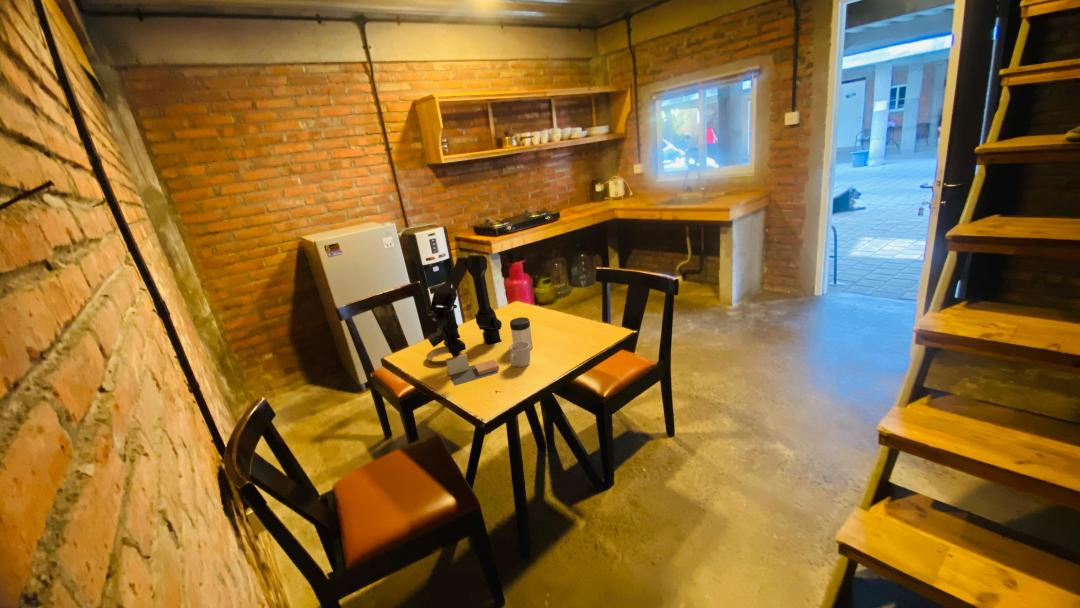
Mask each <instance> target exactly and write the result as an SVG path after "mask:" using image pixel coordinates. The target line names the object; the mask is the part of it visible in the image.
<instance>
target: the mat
mask: <svg viewBox="0 0 1080 608" xmlns="http://www.w3.org/2000/svg"><path fill="white" fill-rule="evenodd" d="M474 365H475V364H472V365H469V370H467V371H463V372H460V373H456V374H453V375H449V374H448V376H449V378H450V380H451V381H452V384H453V386H454V387H455V386H459V385H462V384H466V383H470V382H473V381H475V380H479V379H482V378H485V377H488V376H492V375H495V374H499V370H495V371H492V372H488V373H485V374H482V375H479V374H478V372H477V371H476V369H475V368H474Z"/></svg>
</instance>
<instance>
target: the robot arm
mask: <svg viewBox="0 0 1080 608" xmlns="http://www.w3.org/2000/svg"><path fill="white" fill-rule="evenodd" d="M487 269H488V259H487V257H486V256H485V255H484V254H469V255H467V256H459V257H457V258H456V263H455V264H454V266H453V268H452V270H451V272H450V274H449V275H448V277H447V278H446V281H445V282H444V283H443V284H441V285H440V286H438V287H437V289H436V290H435V291H434V292H433V296H432V299H431V304H430V308H429V312H431V313H428V314H427V315H426V319H425V320H424V324H423V327H424V329H425V330H426V332H427V333H429V335H428V336H427V340H428V342H429V343H430V345H431V346H432V347H433V348H435V347H437V346H438V345H439V344H441V343H442V342H443V346H445V347H446V349H447V350H448V352H449V353H448V354H451V357H455V356H459V352H460V351H462V352H463V351H465V350H466V344H465V342H464V341H463V340H462V339H460V338H461V336H460V333H459V324H457V318H456V312H455V309H456V308H458V305H456V304H455V303H456V299H457V297H458V293H457V290H458V288H459V286H460V284H461V283H462V280H463V278H464V277H465V275H466V273H467V272H468V273H469V275H470V276H471V277H472V280H473V286H474V291H475V296H476V302H477V307H478V310H477V312H476V314H475V315H474V318H475V323H476V324H477V326H478V328H479V331H481V330H482V331H483V332H482V339H483V342H484V343H485V344H486V345H487V346H490V345H494V344H497V343H501V342H502V339H501V335H500V330H501V329H502V327H503V326H502V324H503V323H502V321H501V320H500V319H498V318H497V315H496V312H495V310H494V309H493V308H492V307H491V304H490V303H491V302H490V299H489V292H488V286H487V280H486V273H487Z"/></svg>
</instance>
